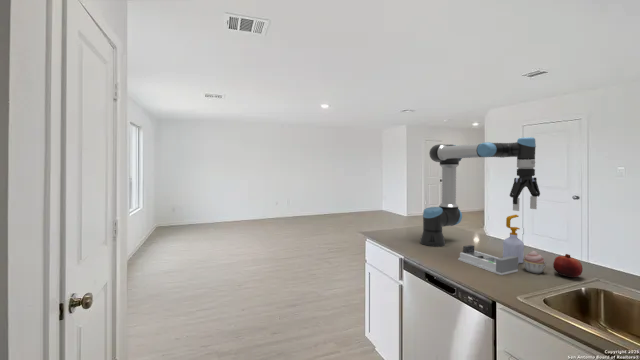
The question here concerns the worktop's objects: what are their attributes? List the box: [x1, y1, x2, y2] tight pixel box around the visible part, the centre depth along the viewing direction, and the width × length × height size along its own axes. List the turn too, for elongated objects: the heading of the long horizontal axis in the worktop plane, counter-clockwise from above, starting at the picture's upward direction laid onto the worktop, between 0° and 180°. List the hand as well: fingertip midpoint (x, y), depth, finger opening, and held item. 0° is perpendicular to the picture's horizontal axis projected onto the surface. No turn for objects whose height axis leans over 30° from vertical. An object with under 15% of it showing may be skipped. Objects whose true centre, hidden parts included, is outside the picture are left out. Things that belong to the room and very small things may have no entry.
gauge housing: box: [457, 249, 519, 276], centre depth 147 cm, size 24×12×7 cm, turn 23°
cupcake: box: [523, 250, 547, 274], centre depth 138 cm, size 9×9×10 cm
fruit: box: [552, 253, 584, 278], centre depth 132 cm, size 11×10×10 cm
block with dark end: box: [462, 244, 493, 262], centre depth 151 cm, size 13×9×6 cm
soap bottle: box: [502, 214, 525, 264], centre depth 153 cm, size 9×9×25 cm
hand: (524, 209), depth 148 cm, fingers open, 13 cm apart
